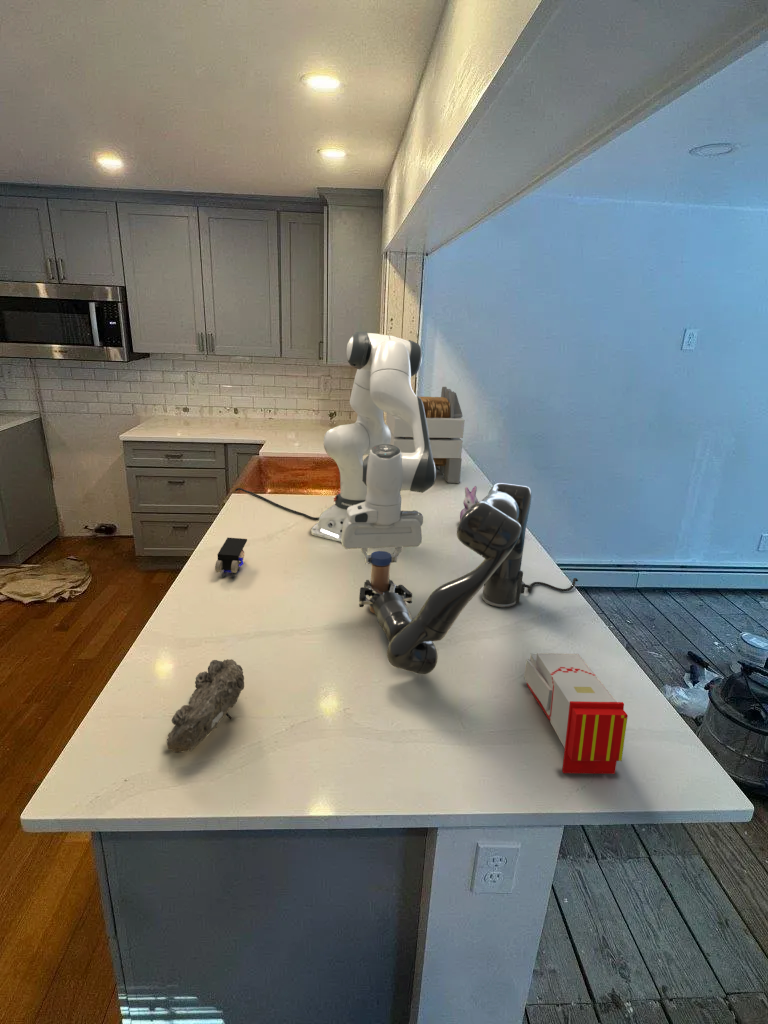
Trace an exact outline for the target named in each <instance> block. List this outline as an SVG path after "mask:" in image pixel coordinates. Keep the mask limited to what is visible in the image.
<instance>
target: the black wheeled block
mask: <svg viewBox="0 0 768 1024" xmlns="http://www.w3.org/2000/svg"><path fill="white" fill-rule="evenodd" d="M247 542H248V538H240V537H226V539H225V541H224V543H223V544H222V546H221V547H220V549H219V551H218V552H217V560H216V562H215V564H214V572H215V573H221V577H222V578H224V577H225V576H226V574H227V573H230V574H231V573H232V574H231V578H234V577H235V575H236V573H237V572H239V571H240V567H242V566H243V565H244V564H245V562H244V558H245V551H244V547H245V546H246V544H247Z"/></svg>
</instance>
